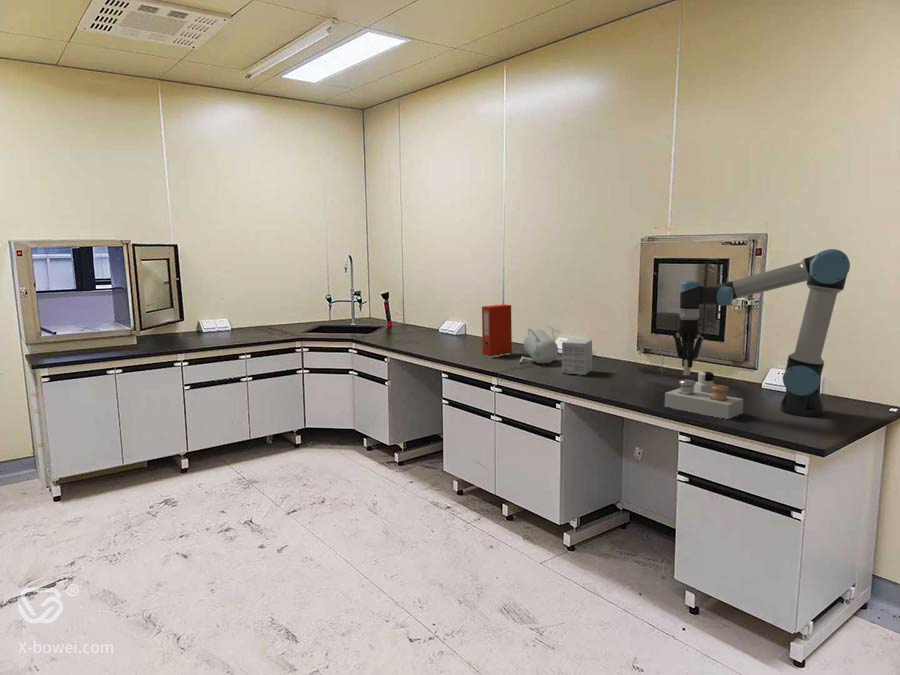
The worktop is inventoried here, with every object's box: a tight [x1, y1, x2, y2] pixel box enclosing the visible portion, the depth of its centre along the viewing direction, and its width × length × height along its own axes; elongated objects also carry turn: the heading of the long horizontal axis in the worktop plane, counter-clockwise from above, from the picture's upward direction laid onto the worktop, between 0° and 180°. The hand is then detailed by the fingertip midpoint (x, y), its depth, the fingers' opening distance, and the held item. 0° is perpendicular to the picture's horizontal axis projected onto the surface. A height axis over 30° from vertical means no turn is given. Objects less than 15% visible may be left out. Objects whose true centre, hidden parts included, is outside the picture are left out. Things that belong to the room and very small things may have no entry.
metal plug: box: [678, 379, 697, 395], centre depth 248 cm, size 6×6×8 cm
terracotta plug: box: [711, 384, 730, 402], centre depth 237 cm, size 6×6×8 cm
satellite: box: [519, 325, 563, 364], centre depth 348 cm, size 23×20×25 cm
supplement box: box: [561, 338, 593, 375], centre depth 320 cm, size 13×13×18 cm
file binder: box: [481, 303, 513, 356], centre depth 374 cm, size 8×17×32 cm, turn 124°
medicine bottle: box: [694, 371, 717, 394], centre depth 259 cm, size 7×7×12 cm
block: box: [664, 387, 744, 420], centre depth 243 cm, size 27×12×6 cm, turn 39°
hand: (686, 374), depth 247 cm, fingers closed
